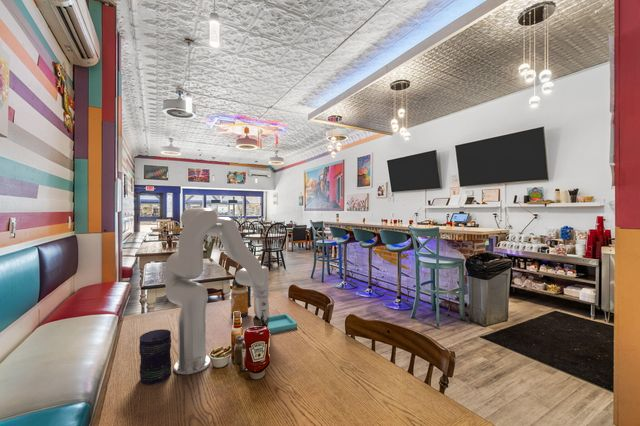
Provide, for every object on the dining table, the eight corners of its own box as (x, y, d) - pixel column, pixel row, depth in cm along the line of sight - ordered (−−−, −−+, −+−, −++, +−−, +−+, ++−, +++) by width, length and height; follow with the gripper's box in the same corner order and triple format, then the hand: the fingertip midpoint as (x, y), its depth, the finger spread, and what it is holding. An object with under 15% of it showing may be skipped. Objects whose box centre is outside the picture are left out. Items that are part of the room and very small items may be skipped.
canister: (230, 314, 165) (229, 278, 164) (250, 311, 169) (249, 276, 169) (232, 319, 157) (232, 282, 156) (253, 316, 161) (253, 280, 161)
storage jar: (143, 372, 107) (142, 331, 106) (173, 367, 110) (172, 327, 110) (136, 388, 97) (136, 343, 97) (169, 381, 101) (169, 338, 101)
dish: (297, 328, 145) (297, 323, 145) (267, 334, 138) (267, 329, 138) (286, 318, 159) (286, 313, 158) (258, 323, 152) (258, 318, 152)
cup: (265, 337, 135) (265, 320, 135) (250, 336, 136) (250, 319, 136) (271, 330, 142) (271, 314, 142) (257, 329, 144) (256, 313, 144)
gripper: (274, 296, 133) (274, 335, 133) (263, 287, 148) (263, 322, 149) (257, 298, 130) (258, 338, 130) (248, 289, 145) (248, 324, 145)
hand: (260, 329), depth 139 cm, fingers closed on cup, 6 cm apart
